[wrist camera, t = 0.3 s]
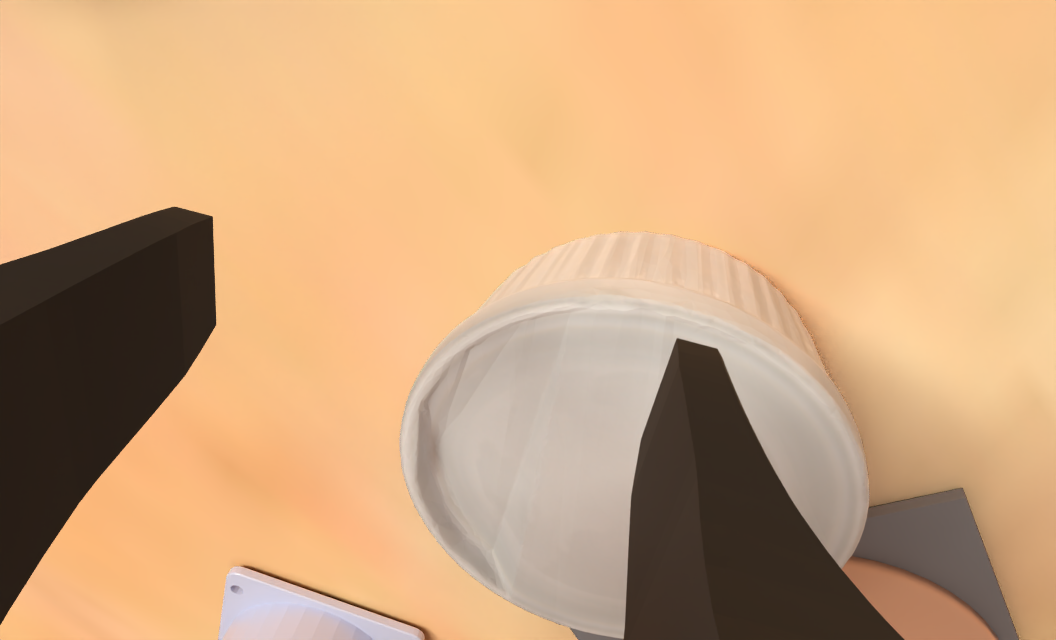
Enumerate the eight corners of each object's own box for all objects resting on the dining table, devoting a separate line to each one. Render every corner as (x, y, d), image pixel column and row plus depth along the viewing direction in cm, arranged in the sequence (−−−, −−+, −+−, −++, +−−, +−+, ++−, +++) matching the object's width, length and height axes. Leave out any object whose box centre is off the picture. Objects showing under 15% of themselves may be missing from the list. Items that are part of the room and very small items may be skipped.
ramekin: (387, 252, 25) (315, 362, 20) (788, 133, 21) (804, 239, 16) (536, 527, 30) (503, 662, 25) (880, 475, 26) (911, 625, 21)
